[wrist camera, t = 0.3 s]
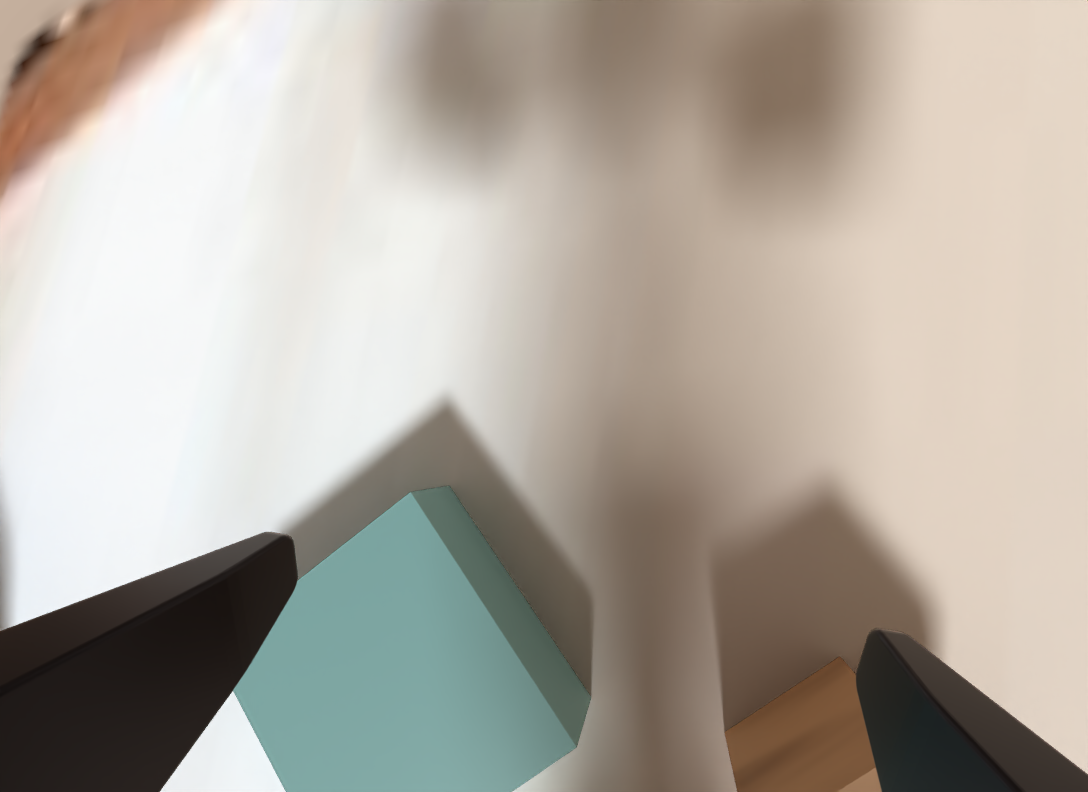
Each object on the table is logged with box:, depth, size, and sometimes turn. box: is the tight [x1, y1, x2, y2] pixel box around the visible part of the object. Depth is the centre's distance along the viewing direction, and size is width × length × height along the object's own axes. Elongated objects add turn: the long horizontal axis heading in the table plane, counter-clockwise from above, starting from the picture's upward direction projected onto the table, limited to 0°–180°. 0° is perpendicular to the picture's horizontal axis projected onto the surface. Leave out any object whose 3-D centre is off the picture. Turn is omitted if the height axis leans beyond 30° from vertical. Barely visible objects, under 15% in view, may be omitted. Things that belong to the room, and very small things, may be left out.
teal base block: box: [233, 486, 591, 792], centre depth 21 cm, size 10×10×4 cm
